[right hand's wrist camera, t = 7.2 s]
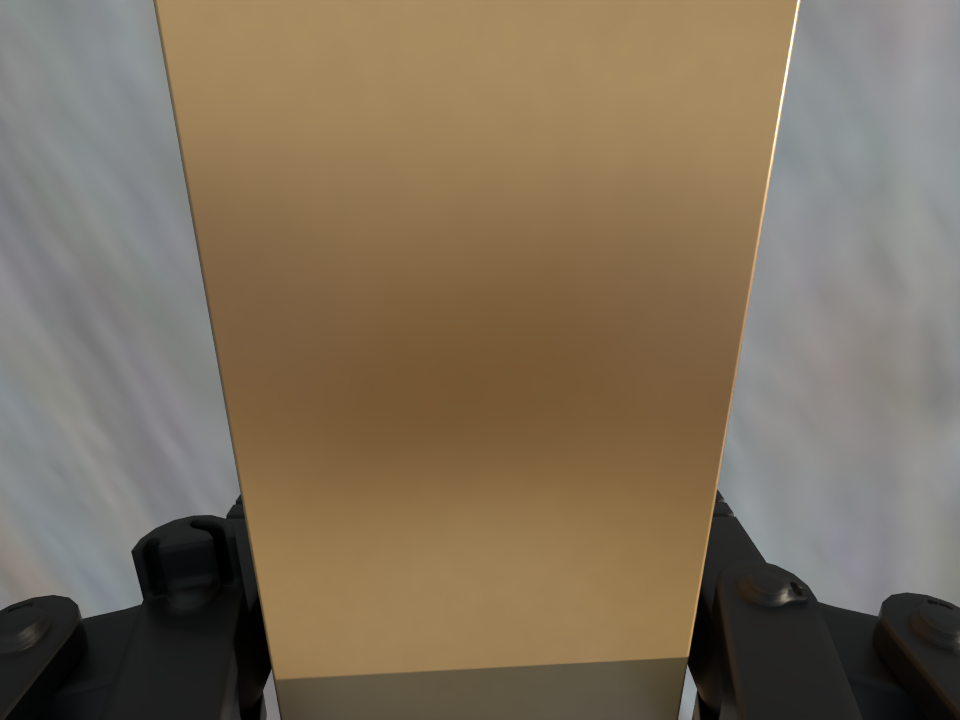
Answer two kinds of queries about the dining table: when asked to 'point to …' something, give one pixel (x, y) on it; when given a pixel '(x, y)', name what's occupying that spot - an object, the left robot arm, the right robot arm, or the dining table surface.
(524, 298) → the post
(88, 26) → the dining table surface
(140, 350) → the dining table surface
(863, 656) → the right robot arm
